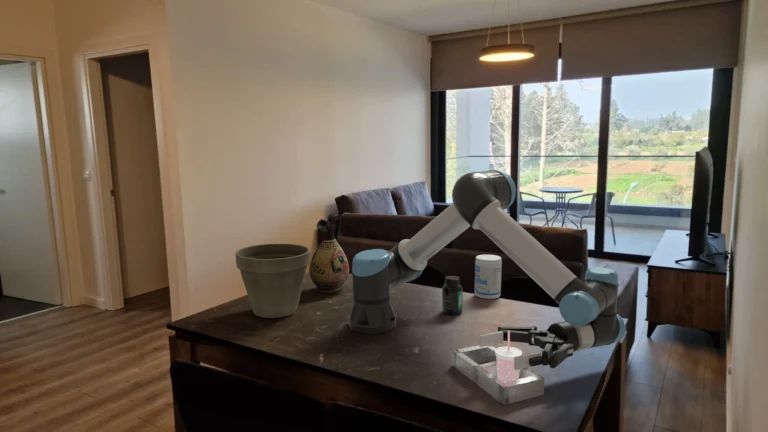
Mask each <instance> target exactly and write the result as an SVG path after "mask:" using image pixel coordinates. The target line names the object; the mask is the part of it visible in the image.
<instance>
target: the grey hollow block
mask: <svg viewBox="0 0 768 432" xmlns="http://www.w3.org/2000/svg"><path fill="white" fill-rule="evenodd" d="M497 348H498V347H495V346H493V345H489V346H484V347H480V346H479V344H477V345H472V346H469V347H468V346H467V347H464V348H463V347H462V348H459V349H453V350H452V351H451V365H452V367H454V368H455V369H456V370H457V371H459V372H460V373H461V374H463V375H464V376H465V377H467V378H468V379H469V380H470V381H472V382H473V383H474V384H476V386H478V387H479V388H480V389H482V390H483V391H484V392H486V393H487V394H489V395H490V396H491V397H492V398H494V399H495V401H498V402H499V403H500V404H501V405H503V406H506V405H510V404H514V403H518V402H522V401H525V400H529V399H533V398H536V397H541V396H544V395H545V377H543V376H542V375H540V374H539V373H537V372H536V371H534V370H532V369H530V367H528V368H523V369H520V371H519V379H517V380H513V381H509V382H505V383H504V382H502V381H501V380H500V379H498V378H497V360H496V355H495V349H497Z"/></svg>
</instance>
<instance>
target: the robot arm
mask: <svg viewBox="0 0 768 432" xmlns="http://www.w3.org/2000/svg"><path fill="white" fill-rule="evenodd" d="M516 194H517V187H516V184H515V181H514V180H513V178H512V177H511V176H510V175H509V174H508V173H507V172H505V171H503V170H501V169H499V170H498V169H488V170H484V171H483V170H482V171H473V172H467V173H465V174H463V175H461V176H460V177H459V178H458V179H457V180H456V182H455V183H454V185H453V187H452V192H451V197H452V198H451V199H452V203H451V204H450V205H448V207H446V208H445V209H444V210H443V211H442V212H440V213H439V214H438V215H437V216H436V217H435V218H434V219H432V220H431V221H430V222H429V223H427V224H426V225H425V226H424V227H422V229H420V230H419V231H418V232H416V234H414V235H413V236H412V237H411V238H410V239H409V238H405V239H402V240H401V241H399V242H398V243H397V244H396V245H394V246H393V248H391V249H390V250H386V249H383V248H373V249H366V250H362V251H360V252H359V253H358V252H357V254H355V255H354V257H353V258H352V265H351V273H352V274H351V275H352V295H353V296H352V297H353V299H352V306H351V310H350V313H349V316H348V319H347V320H348V321H347V322H348V328H349V329H350V330H351V331H353V332H355V333H358V334H365V335H374V334H375V335H377V334H383V333H387V332H390V331H392V330H394V329H395V328H396V327H397V316H396V313H395V310H394V308H393V305H392V302H391V301H392V300H391V288H394V287H397V286H400V285H402V284H406V283H410V282H412V281H414V280H416V279H418V278H419V277H420V276H421V275H422V273H423V271H424V269H425V268H426V267H427V264H428V260H429V259H431V258H432V257H433V256H434V255H436V254H437V253H438V252H439V251H441V250H442V249H443V248H444V247H445V246H446V247H447V245H448V244H450V243H451V242H452V241H454V240H455V239H456V238H457V237H459V236H460V235H461V234H462V233H463V232H465V231H466V230H467V229H470V228H469V227H471V228H472V229H473V230H480V231H482V232H483V234H484V235H485V236H486V237H488V238H489V240H490V241H492V242H493V243H494V245H496V246H497V247H498V248H499V249H500V250H501V251H502V252H503V253H504V254H506V256H507V257H509V258H510V259H511V260H512V261H513V262H514V263H515V264H516V265H517V266H518V267H519V268H520V269H522V271H523V272H524V273H525V274H526V275H527V276H529V277H530V278H531V279H532V280H533V281H534V282H535V283H536V284H537V285H538V286H539V287H540V288H542V289H543V290H544V292H545V293H547V295H549V296H550V297H551V298H552V299H553V300H554V301H555V302H556V304H558V308H559V309H558V311H559V313H560V315H561V317H562V319H563V320H564V321H558V322H554V323H552V324H550V325H549V326H548V328H547V329H546V330H543V329H542V330H538V326H536V325H532V326H498V327H497V331H495V332H491V333H486V334H485V333H484V334H480V335H479V336H478V345H479V346H480V347H484V346H489V345H492V346H493V345H497V344H503V343H504V342H508V330H509V331H510V343H511V342H512V343H522V344H528V346H532V347H534V346H535V347H539V348H540V349H542V350H541V352H539V351H535V352H531V353H527V354H522V355H521V356H516V357H514V369H515V370H519V369H523V368H531V367H532V368H533V367H536V366H540V365H541V366H545V367H547V366H549V368H550V369H556V368H557V367H558V366H560V364H561V363H562V362H564V361H565V360H566V359H567V358H569V357H573V356H574V352H575V353H576V352H577V353H578V352H580V351H584V350H587V349H588V350H589V349H593V348H597V347H598V348H599V347H603V346H610V345H611V344H612V345H613V344H615V343H618V342H620V341H621V340H623V339H624V337H626V334H627V327H626V325H625V320H624V319H623V318H622V317H621V315H620V314H618V313H617V311H618V309H617V308H618V296H619V295H618V292H619V287H620V285H619V275H618V271H616V270H614V269H611V268H607V267H597V266H595V267H590V268H588V269H586V271H585V275H584V282H583V281H582V280H581V279H580V278H579V277H578V276H577V275H575V274H574V273H573V272H572V271H571V270H570V269H569V268H567V266H566V265H565V264H564V263H562V262H561V261H560V260H559V259H558V258H556V256H555V255H554V254H553V253H551V252H550V251H549V250H548V249H547V248H546V247H544V246H543V245H542V244H541V243H540V242H539V241H538V240H537V239H536V238H535V237H534V236H532V234H530V233H529V232H528V231H527V230H526V229H525V228H523V226H521V224H519V223H518V222H517V221H516V220H515V219H514V218H513V217H512V216H510V215H509V214H508V212H506V209H508V208H509V207H510V206H512V204H514V201H515V200H516V199H515V198H516Z"/></svg>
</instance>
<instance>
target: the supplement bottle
mask: <svg viewBox="0 0 768 432" xmlns="http://www.w3.org/2000/svg"><path fill="white" fill-rule="evenodd" d="M460 279H461V278H460V276H457V275H447V276H445V278H444V285H442V288H441V309H442V310H441V311H442V313H443V314H445V315H448V316H458V315H461V314H462V313H463V307H464V306H463V305H464V303H463V301H464V300H463V299H464V297H463V295H464V293H463V291H464V290H463V289H464V288H463V286H462V285H461V281H460Z"/></svg>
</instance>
